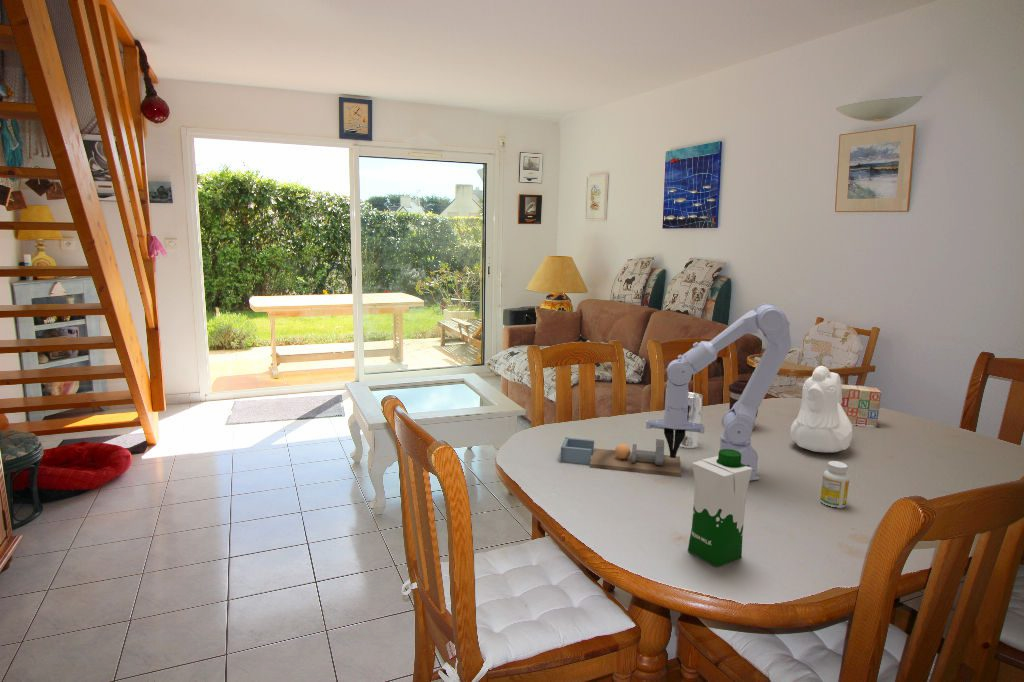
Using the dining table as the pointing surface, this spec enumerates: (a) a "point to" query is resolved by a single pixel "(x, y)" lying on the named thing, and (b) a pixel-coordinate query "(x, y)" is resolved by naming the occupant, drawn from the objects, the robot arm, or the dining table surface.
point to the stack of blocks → (861, 404)
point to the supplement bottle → (835, 485)
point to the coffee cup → (737, 393)
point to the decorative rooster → (822, 415)
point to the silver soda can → (693, 419)
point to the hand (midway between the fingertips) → (672, 456)
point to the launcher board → (611, 461)
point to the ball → (622, 451)
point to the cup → (577, 450)
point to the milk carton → (719, 507)
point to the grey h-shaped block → (649, 454)
